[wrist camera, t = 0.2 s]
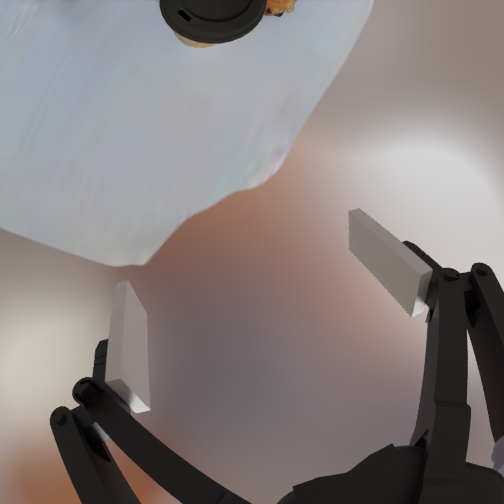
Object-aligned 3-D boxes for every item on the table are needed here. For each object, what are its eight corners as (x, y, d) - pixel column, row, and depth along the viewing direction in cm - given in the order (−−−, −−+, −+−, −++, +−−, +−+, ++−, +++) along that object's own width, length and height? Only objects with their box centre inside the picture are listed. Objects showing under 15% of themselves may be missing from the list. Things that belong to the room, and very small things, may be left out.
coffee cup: (251, 30, 33) (294, 2, 20) (196, 75, 34) (211, 61, 22) (203, -16, 28) (223, -65, 15) (146, 28, 29) (135, -7, 17)
